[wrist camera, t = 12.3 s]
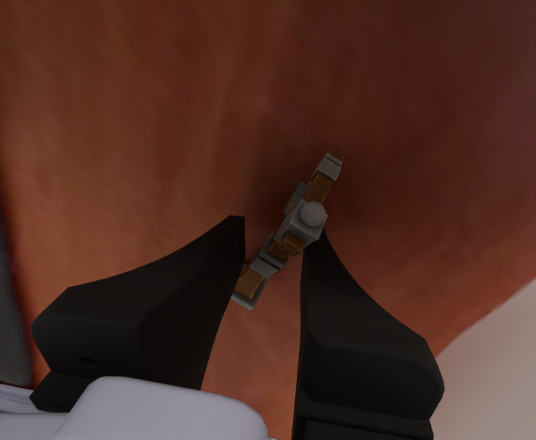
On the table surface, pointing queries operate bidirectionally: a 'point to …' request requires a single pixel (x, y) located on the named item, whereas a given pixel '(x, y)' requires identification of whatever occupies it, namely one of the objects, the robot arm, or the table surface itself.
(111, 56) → the table surface
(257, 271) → the wooden post with brackets
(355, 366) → the robot arm
